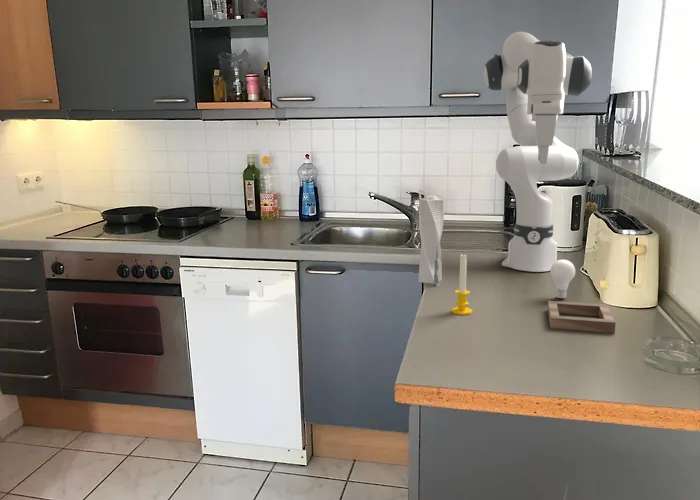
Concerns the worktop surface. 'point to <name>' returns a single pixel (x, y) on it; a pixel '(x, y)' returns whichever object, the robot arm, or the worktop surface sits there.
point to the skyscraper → (430, 238)
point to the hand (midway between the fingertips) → (542, 162)
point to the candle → (462, 290)
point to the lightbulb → (562, 276)
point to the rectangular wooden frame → (578, 323)
